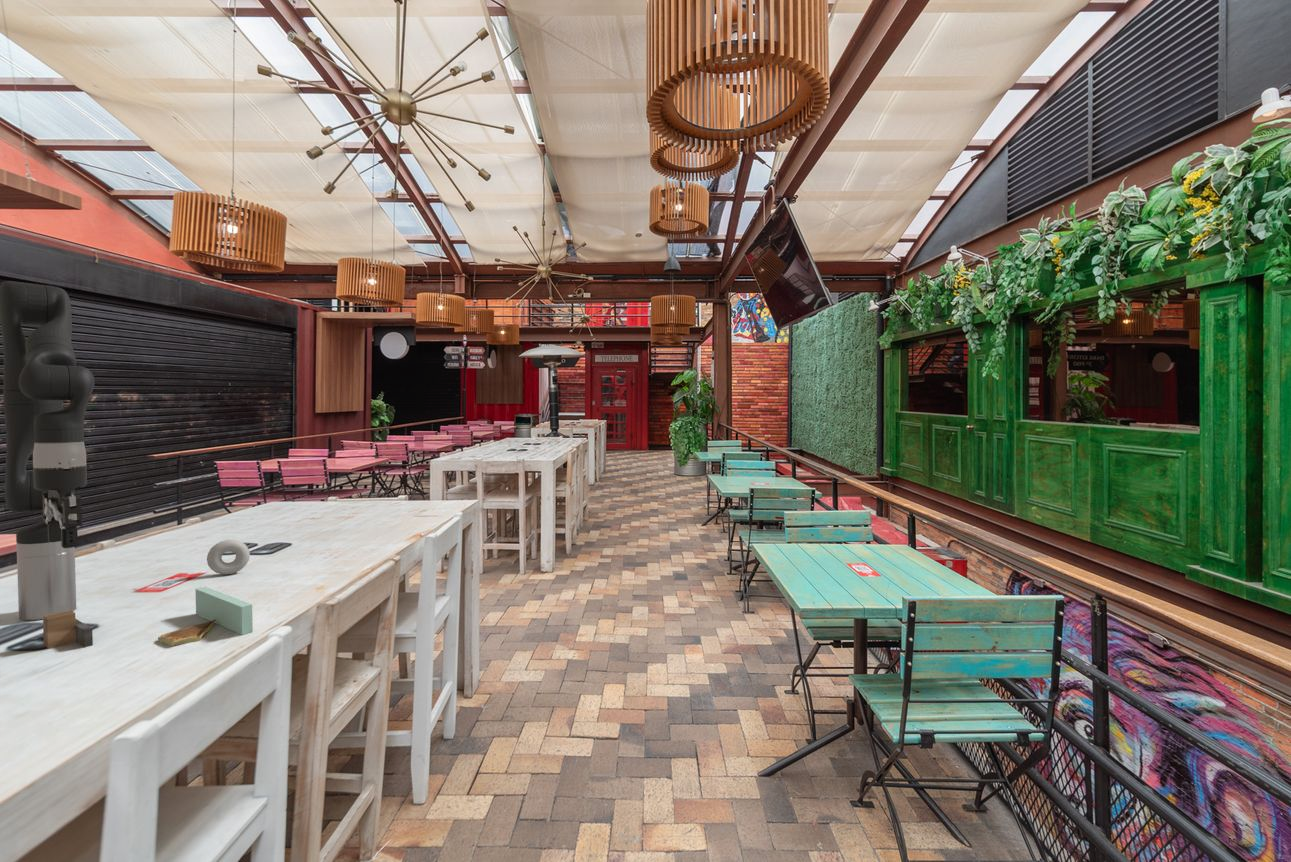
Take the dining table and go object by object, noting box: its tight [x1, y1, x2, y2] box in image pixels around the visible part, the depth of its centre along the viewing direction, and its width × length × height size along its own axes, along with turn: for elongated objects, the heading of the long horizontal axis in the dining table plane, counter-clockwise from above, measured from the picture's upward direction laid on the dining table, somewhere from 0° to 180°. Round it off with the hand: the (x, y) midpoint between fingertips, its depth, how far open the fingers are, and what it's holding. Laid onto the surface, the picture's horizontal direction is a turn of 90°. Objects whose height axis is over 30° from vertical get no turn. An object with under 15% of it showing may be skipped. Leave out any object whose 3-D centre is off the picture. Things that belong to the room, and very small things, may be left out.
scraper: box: [42, 610, 94, 650], centre depth 117 cm, size 13×5×6 cm, turn 59°
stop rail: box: [195, 586, 254, 636], centre depth 128 cm, size 22×2×6 cm, turn 59°
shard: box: [157, 619, 216, 647], centre depth 121 cm, size 11×8×2 cm
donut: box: [206, 539, 251, 575], centre depth 165 cm, size 10×3×10 cm, turn 125°
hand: (62, 544), depth 116 cm, fingers open, 8 cm apart
